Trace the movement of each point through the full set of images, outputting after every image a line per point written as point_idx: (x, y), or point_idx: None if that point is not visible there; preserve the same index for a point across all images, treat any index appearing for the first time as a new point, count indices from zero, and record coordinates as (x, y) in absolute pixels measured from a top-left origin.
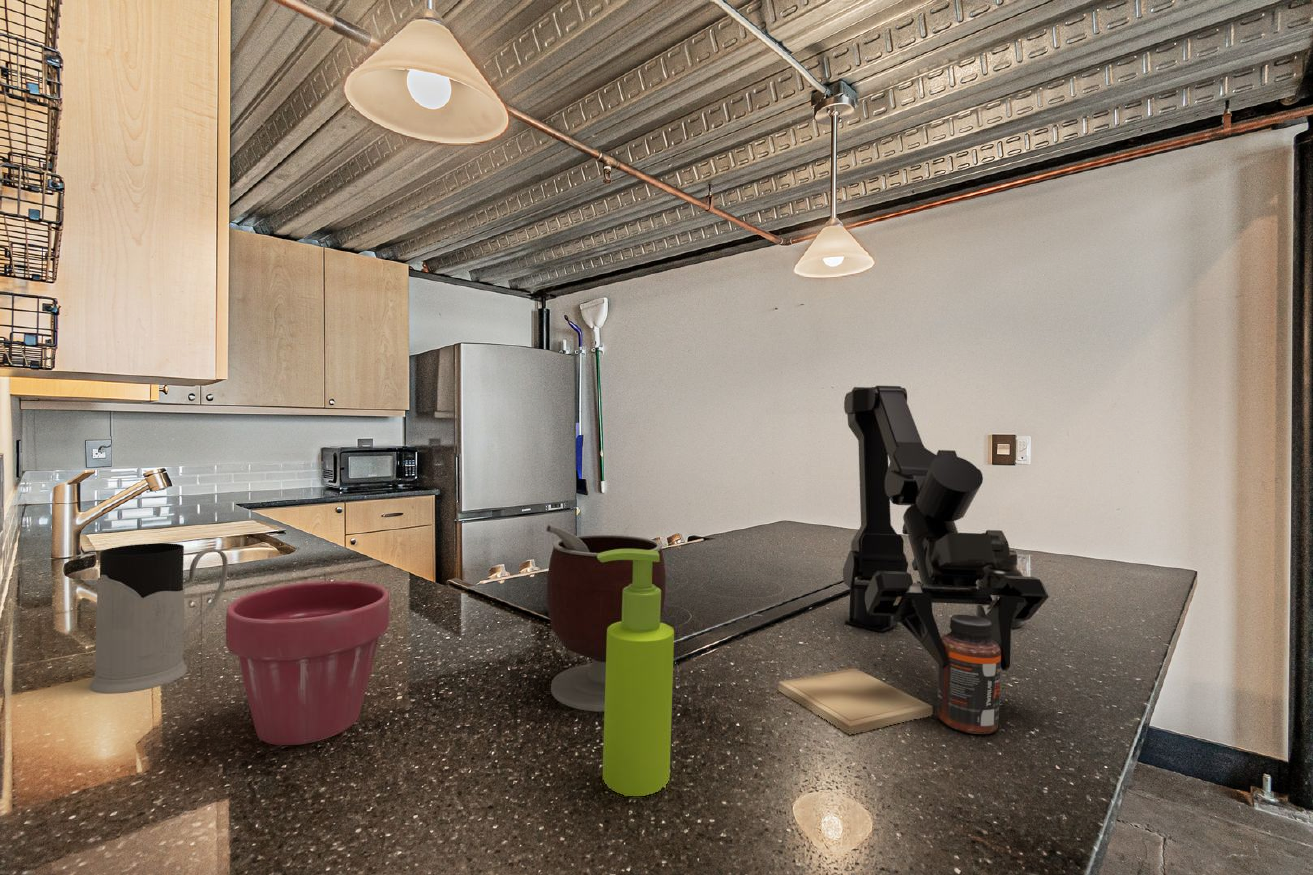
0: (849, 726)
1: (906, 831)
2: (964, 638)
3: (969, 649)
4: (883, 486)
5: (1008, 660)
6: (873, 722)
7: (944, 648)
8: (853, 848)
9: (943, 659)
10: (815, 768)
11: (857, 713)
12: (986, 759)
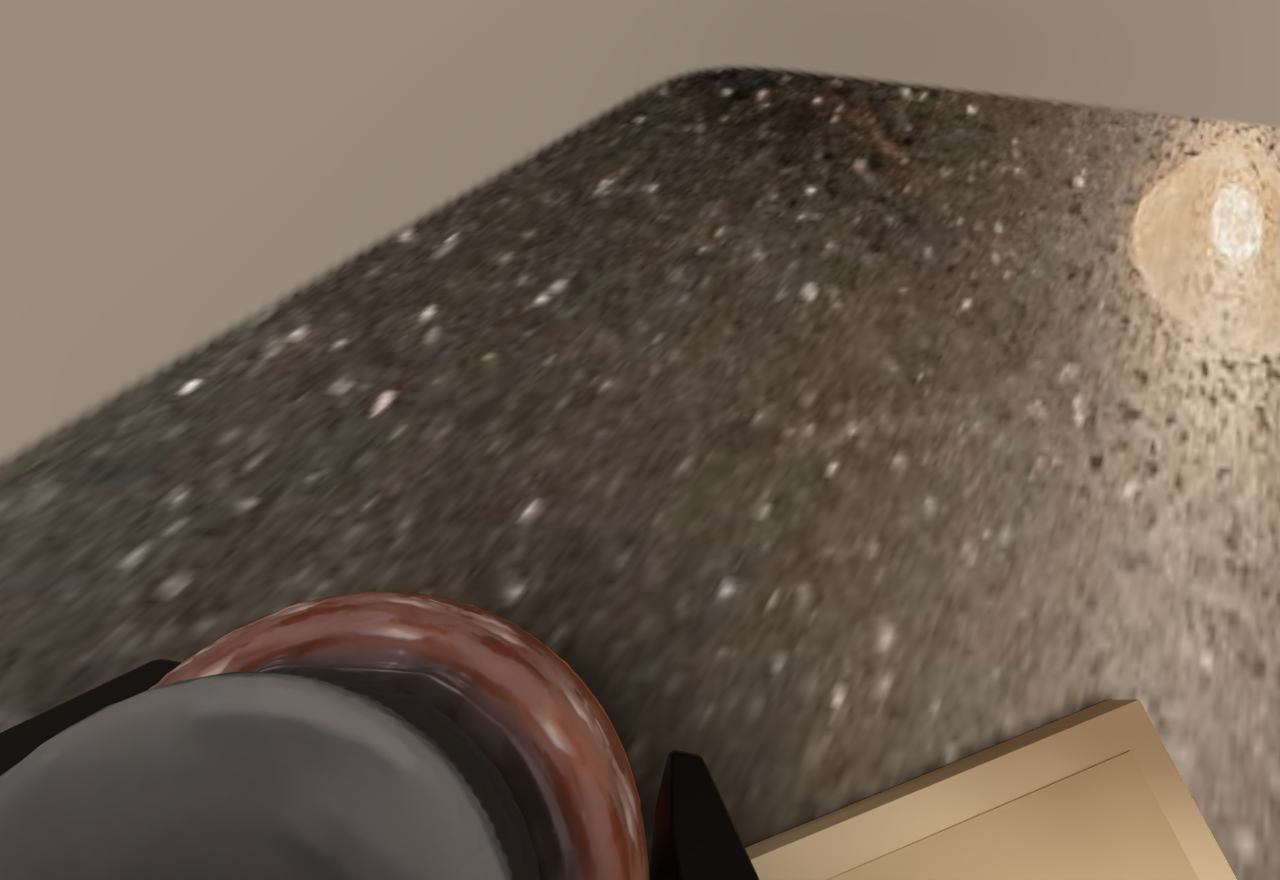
0: (1137, 701)
1: (1056, 187)
2: (499, 764)
3: (523, 651)
4: None
5: (125, 684)
6: (1005, 752)
7: (672, 851)
8: (1195, 155)
9: (703, 772)
10: (1264, 472)
11: (1080, 832)
12: (618, 472)
